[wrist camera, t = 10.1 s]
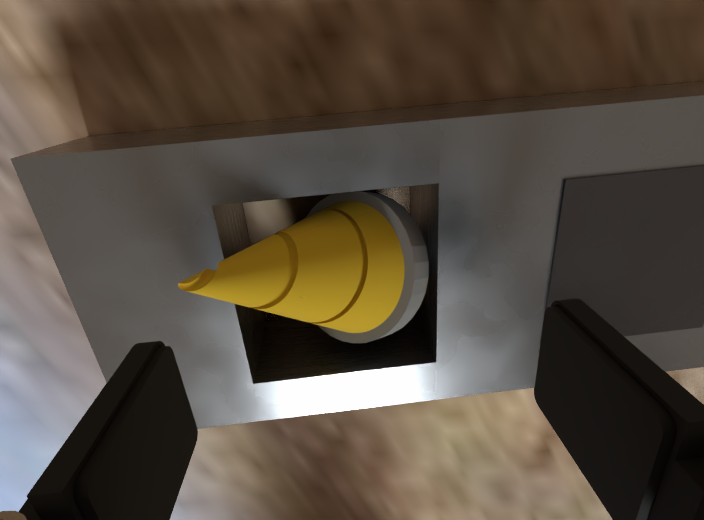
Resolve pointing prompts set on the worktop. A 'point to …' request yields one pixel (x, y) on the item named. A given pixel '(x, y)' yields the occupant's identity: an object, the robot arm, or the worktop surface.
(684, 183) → the block
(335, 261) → the drill bit
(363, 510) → the worktop surface
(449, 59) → the worktop surface
